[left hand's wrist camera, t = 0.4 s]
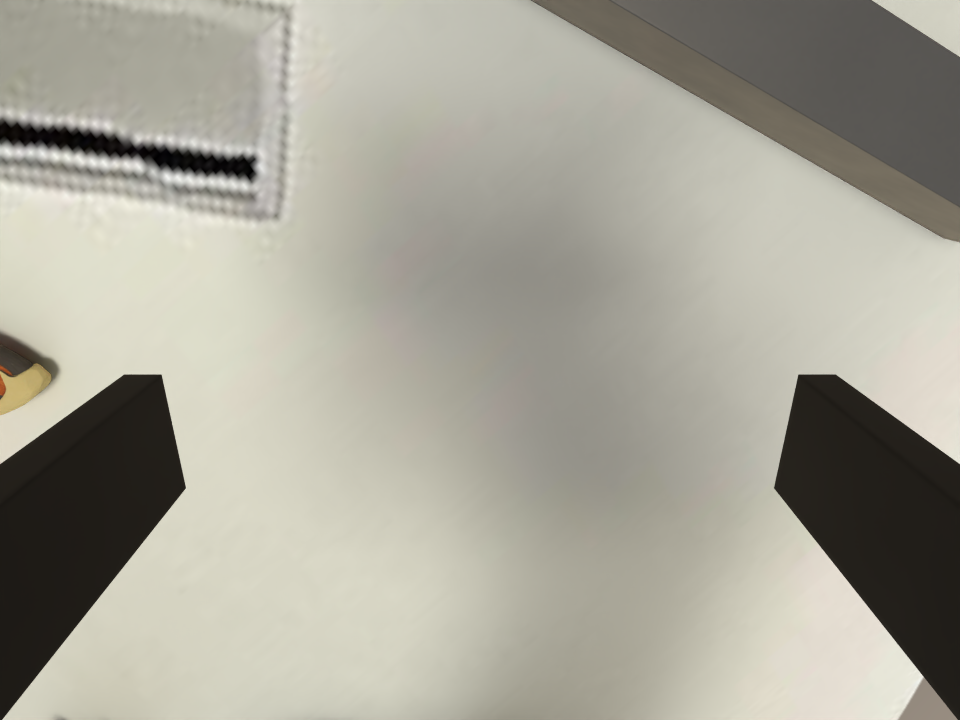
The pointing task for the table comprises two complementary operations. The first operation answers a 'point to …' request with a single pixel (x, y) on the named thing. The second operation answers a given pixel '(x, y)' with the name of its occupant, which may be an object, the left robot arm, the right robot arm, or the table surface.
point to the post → (811, 85)
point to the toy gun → (19, 380)
